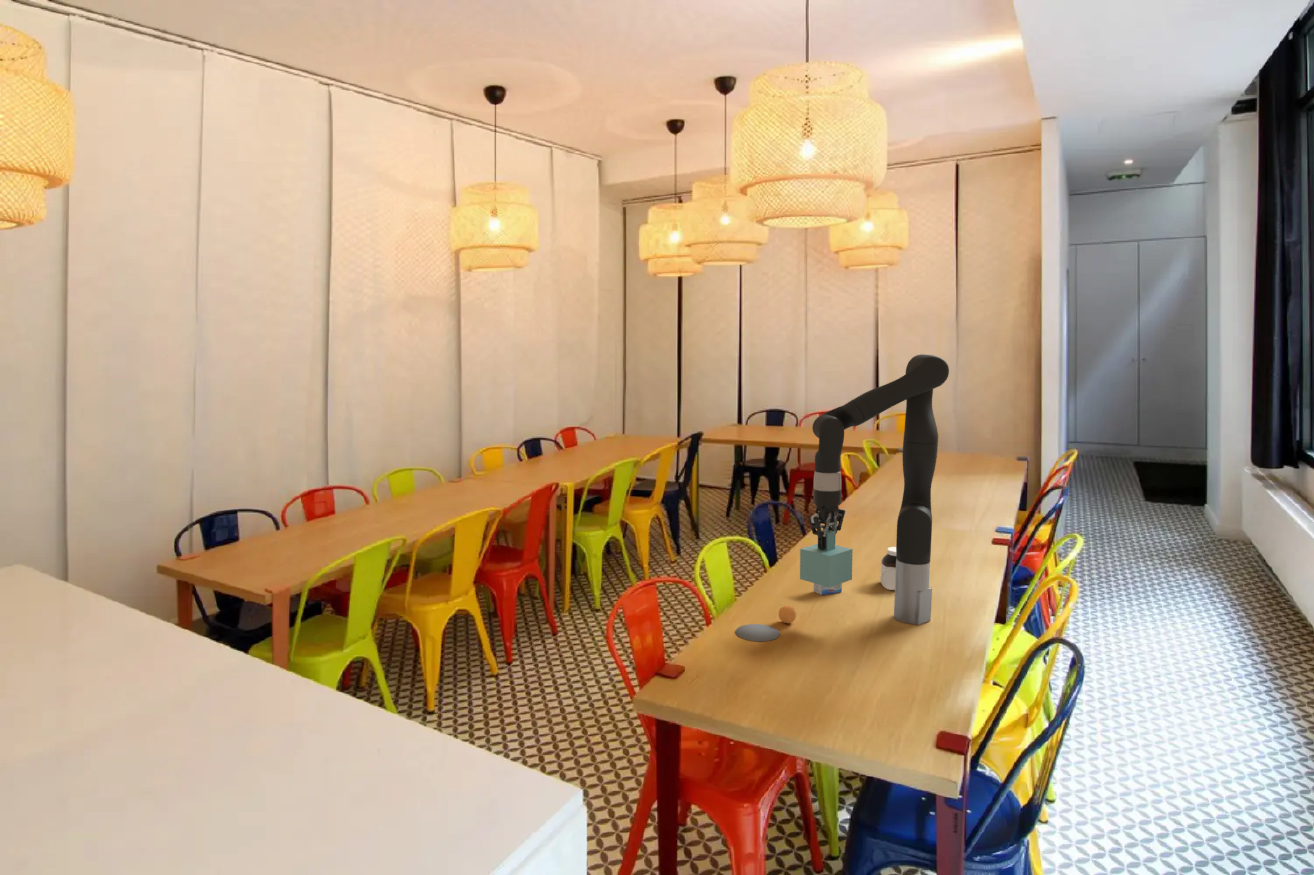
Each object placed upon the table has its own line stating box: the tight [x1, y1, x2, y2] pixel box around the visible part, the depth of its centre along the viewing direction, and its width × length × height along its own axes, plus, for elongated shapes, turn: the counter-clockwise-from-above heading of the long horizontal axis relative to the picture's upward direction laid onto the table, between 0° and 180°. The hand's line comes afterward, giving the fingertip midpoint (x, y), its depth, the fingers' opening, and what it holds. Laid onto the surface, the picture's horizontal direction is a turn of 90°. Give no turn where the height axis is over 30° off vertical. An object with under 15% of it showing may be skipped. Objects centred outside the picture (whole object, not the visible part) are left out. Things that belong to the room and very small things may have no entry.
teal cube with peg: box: [799, 529, 853, 588], centre depth 219 cm, size 10×10×14 cm
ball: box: [778, 604, 797, 624], centre depth 221 cm, size 5×5×5 cm
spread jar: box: [879, 546, 896, 591], centre depth 253 cm, size 12×11×12 cm
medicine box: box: [813, 583, 843, 596], centre depth 247 cm, size 8×4×9 cm, turn 112°
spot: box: [735, 623, 781, 642], centre depth 214 cm, size 12×12×1 cm
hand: (826, 547), depth 219 cm, fingers closed on teal cube with peg, 3 cm apart
